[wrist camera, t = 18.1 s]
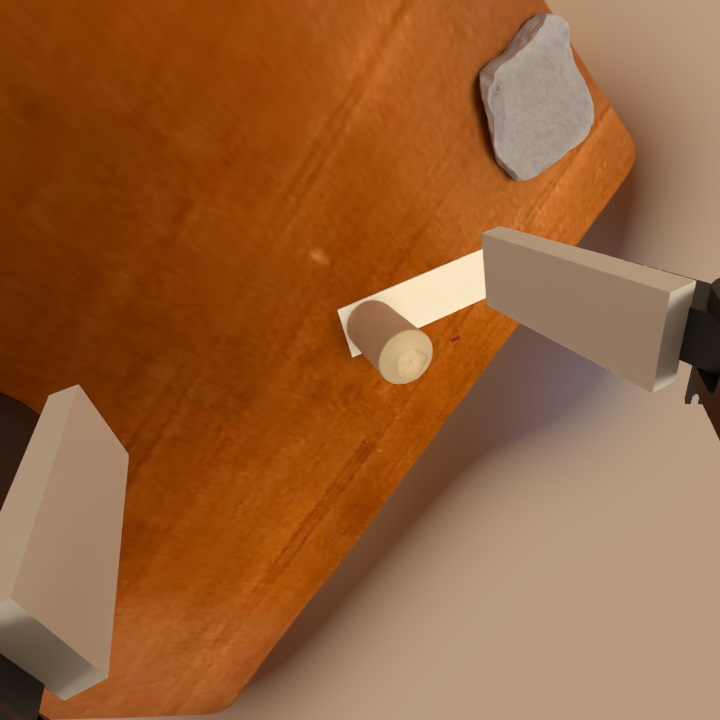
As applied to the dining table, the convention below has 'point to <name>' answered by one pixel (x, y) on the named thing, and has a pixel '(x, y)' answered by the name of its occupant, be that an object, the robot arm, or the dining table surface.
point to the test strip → (430, 293)
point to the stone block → (535, 98)
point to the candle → (389, 341)
